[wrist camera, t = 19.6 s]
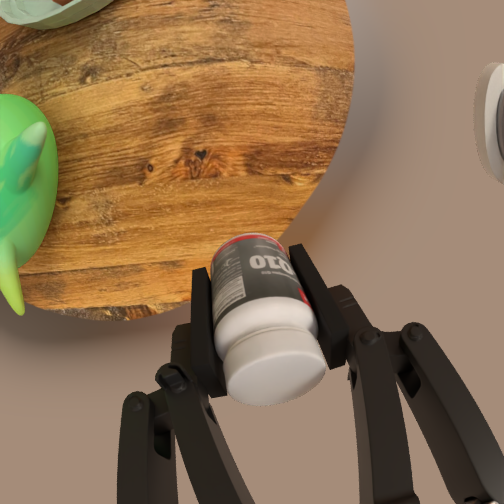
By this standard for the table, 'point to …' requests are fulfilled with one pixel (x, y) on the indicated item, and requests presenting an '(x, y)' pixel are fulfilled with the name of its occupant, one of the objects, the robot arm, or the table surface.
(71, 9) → the bowl
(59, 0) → the block
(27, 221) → the toy bird
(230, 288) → the pill bottle
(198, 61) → the table surface
